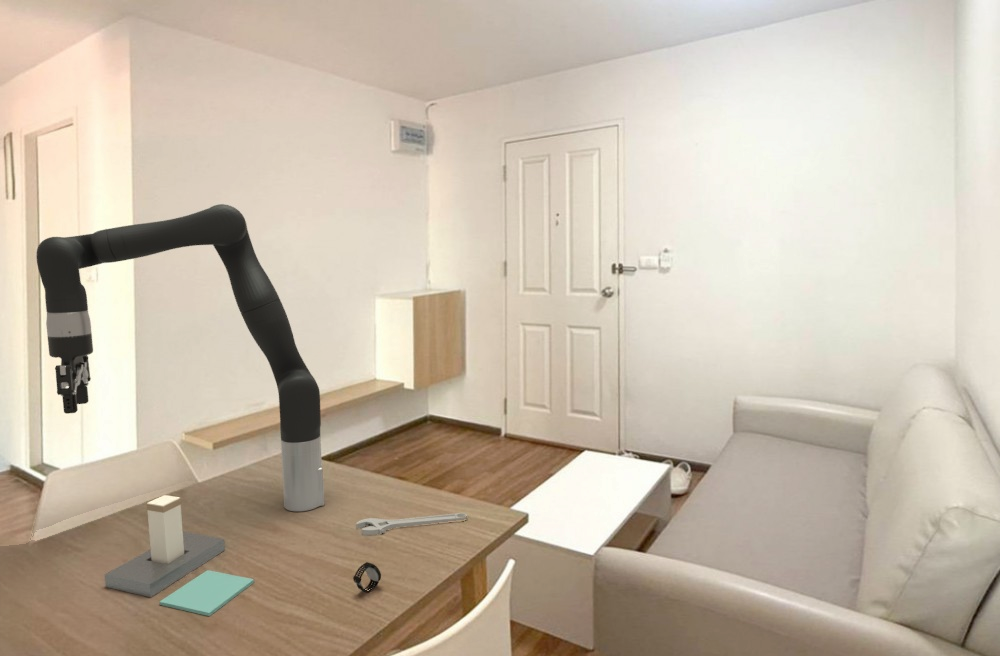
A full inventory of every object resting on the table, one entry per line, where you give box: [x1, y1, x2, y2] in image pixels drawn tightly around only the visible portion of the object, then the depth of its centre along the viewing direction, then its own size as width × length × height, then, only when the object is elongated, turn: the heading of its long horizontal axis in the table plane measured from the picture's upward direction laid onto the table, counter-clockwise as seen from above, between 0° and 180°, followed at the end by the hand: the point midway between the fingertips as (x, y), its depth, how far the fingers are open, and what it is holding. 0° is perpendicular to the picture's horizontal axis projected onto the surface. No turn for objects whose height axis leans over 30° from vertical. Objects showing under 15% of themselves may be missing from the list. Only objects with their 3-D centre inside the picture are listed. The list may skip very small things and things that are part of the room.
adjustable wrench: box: [355, 512, 468, 536], centre depth 134 cm, size 25×6×2 cm, turn 99°
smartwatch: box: [352, 561, 382, 594], centre depth 108 cm, size 4×5×5 cm
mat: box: [159, 569, 255, 617], centre depth 107 cm, size 11×11×1 cm
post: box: [146, 494, 184, 564], centre depth 116 cm, size 4×4×14 cm
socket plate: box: [104, 531, 226, 598], centre depth 116 cm, size 18×11×2 cm, turn 162°
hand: (76, 408), depth 125 cm, fingers open, 8 cm apart
